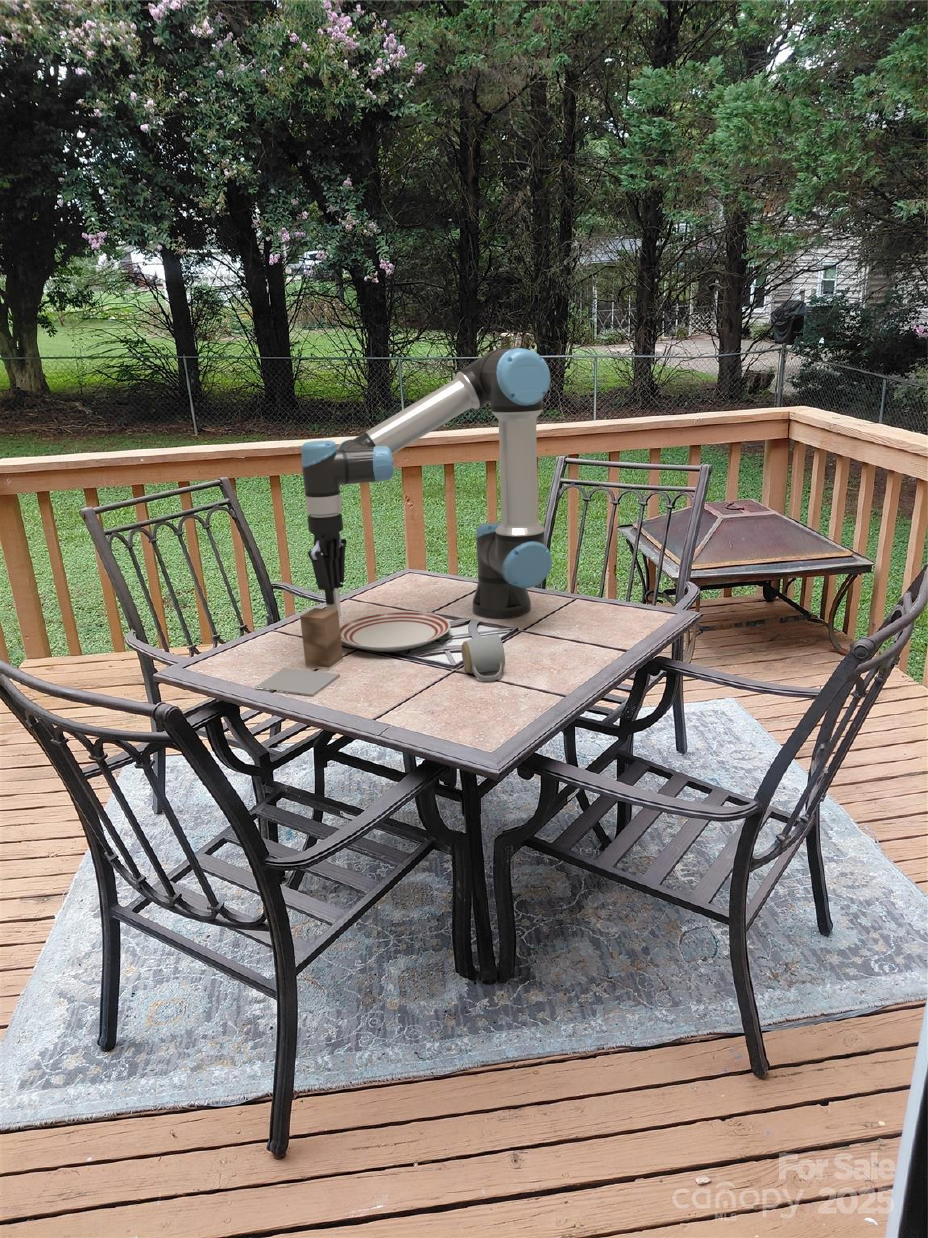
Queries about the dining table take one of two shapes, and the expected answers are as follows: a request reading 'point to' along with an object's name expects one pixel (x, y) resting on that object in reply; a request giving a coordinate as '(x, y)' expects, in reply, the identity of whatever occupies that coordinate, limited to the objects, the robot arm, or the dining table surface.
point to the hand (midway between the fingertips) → (334, 616)
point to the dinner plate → (393, 630)
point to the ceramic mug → (484, 656)
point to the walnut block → (321, 638)
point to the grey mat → (298, 681)
